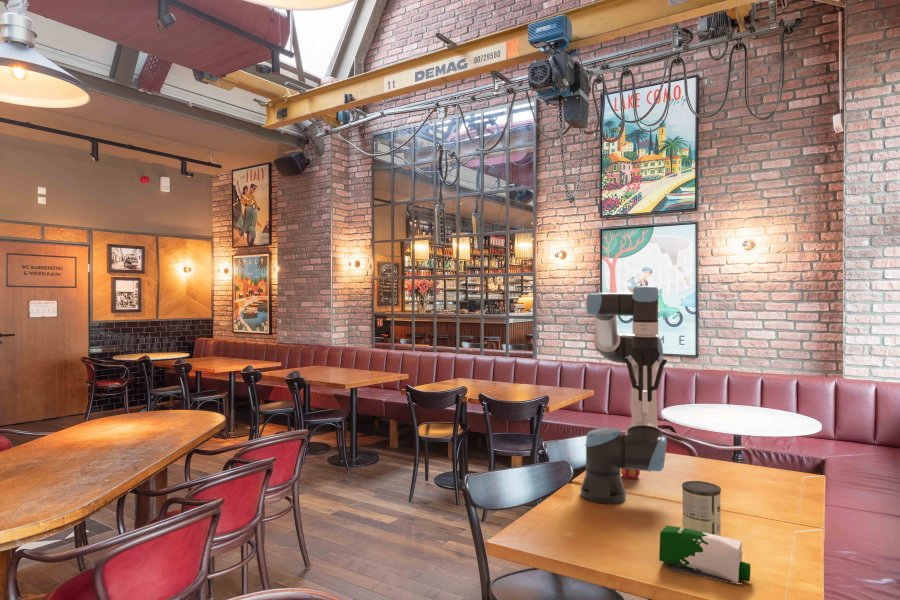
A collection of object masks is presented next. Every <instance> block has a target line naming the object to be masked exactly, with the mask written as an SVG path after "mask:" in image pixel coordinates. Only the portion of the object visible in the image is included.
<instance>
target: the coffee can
mask: <svg viewBox="0 0 900 600" xmlns="http://www.w3.org/2000/svg"><path fill="white" fill-rule="evenodd" d="M681 486H682V528H686V529H691V530H695V531H700V532H704V533H709V534H713V535H718V536H721V531H722V530H721V526H722V524H721V522H722V521H721V519H722V518H721V492H722V489H721V487H720V486H719V485H717V484H715V483H711V482H707V481H702V480H700V481H699V480H688V481H685V482H682V484H681Z"/></svg>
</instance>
